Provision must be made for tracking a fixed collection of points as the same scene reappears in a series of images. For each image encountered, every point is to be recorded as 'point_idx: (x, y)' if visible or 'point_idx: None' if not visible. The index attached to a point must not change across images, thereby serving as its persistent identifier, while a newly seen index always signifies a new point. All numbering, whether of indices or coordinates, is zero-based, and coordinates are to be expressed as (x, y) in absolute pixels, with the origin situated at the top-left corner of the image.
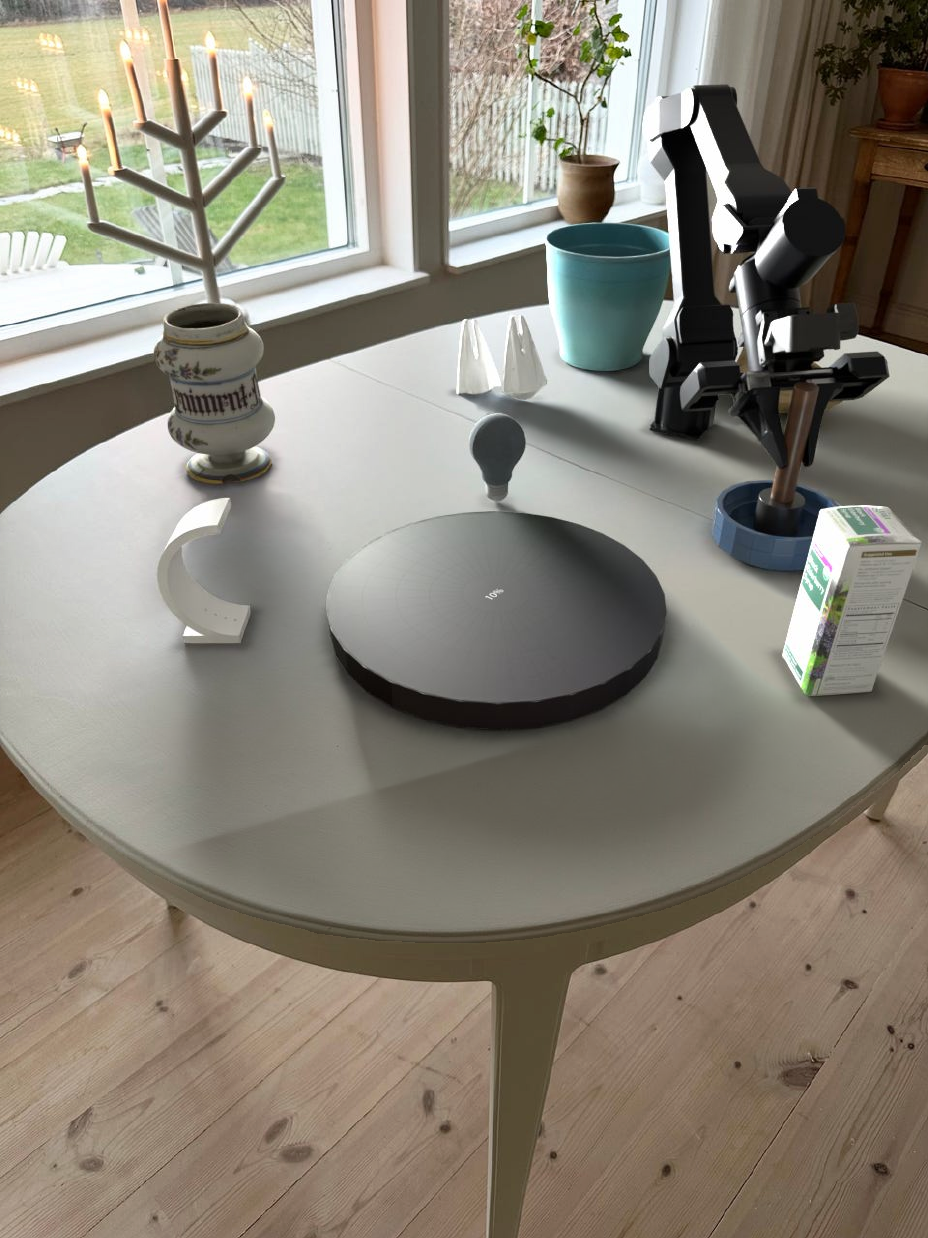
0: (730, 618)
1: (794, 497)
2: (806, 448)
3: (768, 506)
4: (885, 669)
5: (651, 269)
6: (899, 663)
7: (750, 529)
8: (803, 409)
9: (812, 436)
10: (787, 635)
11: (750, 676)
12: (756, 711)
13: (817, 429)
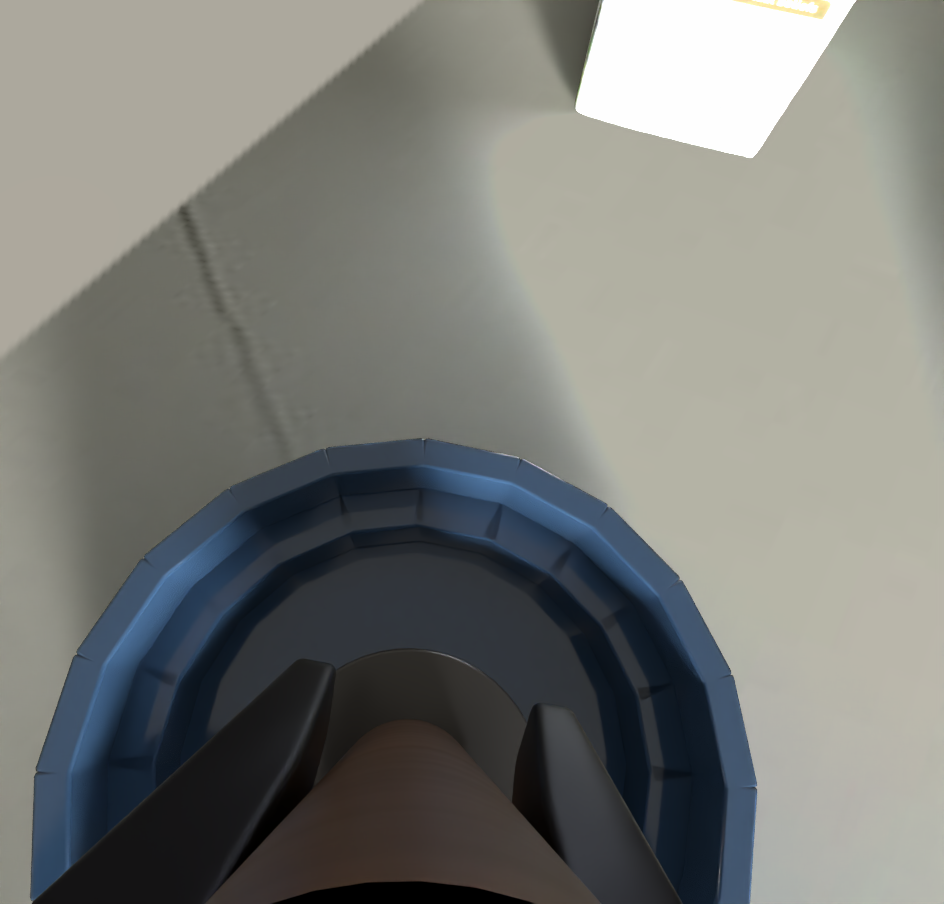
0: (820, 357)
1: (331, 767)
2: (299, 784)
3: None
4: (508, 29)
5: None
6: (454, 33)
7: (680, 624)
8: (554, 866)
9: (199, 837)
10: (790, 100)
11: (873, 127)
12: (911, 29)
13: (84, 892)
